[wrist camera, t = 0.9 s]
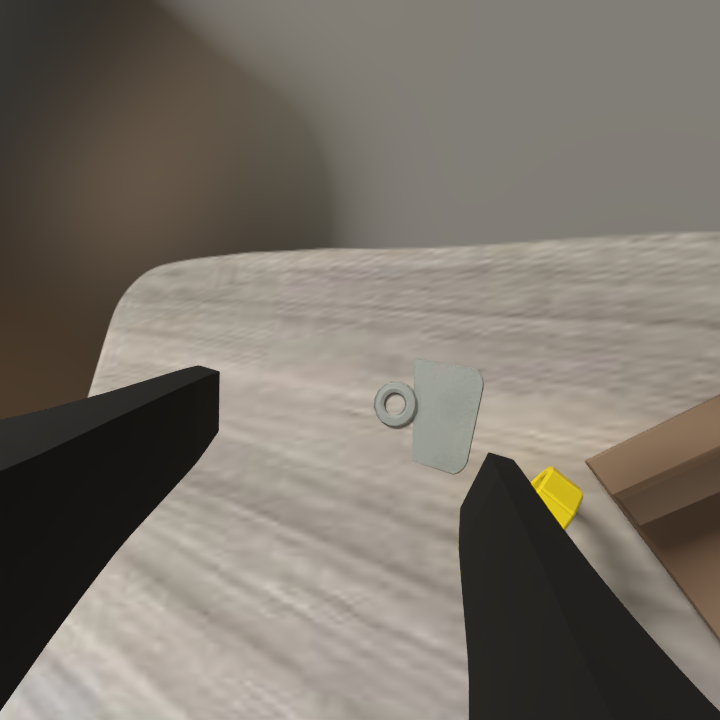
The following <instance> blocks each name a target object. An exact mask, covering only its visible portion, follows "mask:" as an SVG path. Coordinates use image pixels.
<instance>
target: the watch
mask: <svg viewBox="0 0 720 720" xmlns="http://www.w3.org/2000/svg"><path fill="white" fill-rule="evenodd" d="M531 484H532V486H533V487H534V489H535V490H536V491H537V493H538V494H539V496H540V497H541V498H542V500H543V501H544V503H545V504H546V505H547V507H548V508H549V510H550V511H551V512H552V514H553V515H554V517H555V518H556V519H557V521H558V522H559V523H560V525H561V526H562V528H563V529H564V530H566V529H567V527H568V526H569V524H570V523H571V522H572V520H573V517H574V516H575V515H576V513H577V511H578V508H579V506H580V504H581V502H582V500H583V493H582V491H581V489H580V487H578V486H577V485H576V484H574V483H573V482H572V481H571V480H569V479H568V478H567V477H566V476H564V475H563V474H562V473H560V472H559V471H558V470H557V469H555V468H554V467H548V468H547V469H546V470H544V471H543V472H541V473H540V474H539V475H538V476H537V477H536V478H535V479H534V480H533V481H532V482H531ZM460 574H461V571H460Z"/></svg>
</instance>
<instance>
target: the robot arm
mask: <svg viewBox="0 0 720 720" xmlns="http://www.w3.org/2000/svg"><path fill="white" fill-rule="evenodd" d="M219 375H220V372H219V371H216V370H212V369H209V368H206V367H202V366H199V365H198V366H194V367H189V368H186V369H182V370H179V371H175V372H172V373H169V374H165V375H162V376H159V377H156V378H152V379H149V380H146V381H143V382H140V383H136V384H133V385H130V386H127V387H123V388H120V389H117V390H114V391H110V392H107V393H103V394H100V395H96V396H93V397H89V398H85V399H82V400H78V401H75V402H71V403H67V404H64V405H60V406H57V407H53V408H49V409H45V410H41V411H37V412H33V413H29V414H25V415H20V416H16V417H12V418H6V419H2V420H0V711H1V709H2V708H3V707H4V705H5V704H6V702H7V701H8V699H9V698H10V696H11V695H12V694H13V692H14V691H15V689H16V688H17V686H18V685H19V684H20V682H21V681H22V679H23V678H24V676H25V675H26V674H27V672H28V671H29V669H30V668H31V666H32V665H33V663H34V662H35V661H36V659H37V658H38V656H39V655H40V653H41V652H42V651H43V649H44V648H45V646H46V645H47V643H48V642H49V641H50V639H51V638H52V637H53V635H54V634H55V633H56V631H57V630H58V628H59V627H60V626H61V624H62V623H63V622H64V620H65V619H66V618H67V616H68V615H69V613H70V612H71V611H72V609H73V608H74V607H75V605H76V604H77V603H78V601H79V600H80V598H81V597H82V596H83V594H84V593H85V592H86V591H87V589H88V588H89V587H90V585H91V584H92V583H93V581H94V580H95V579H96V577H97V576H98V575H99V574H100V572H101V571H102V570H103V568H104V567H105V566H106V564H107V563H108V562H109V561H110V559H111V558H112V557H113V555H114V554H115V553H116V552H117V551H118V549H119V548H120V547H121V546H122V545H123V543H124V542H125V541H126V540H127V539H128V538H129V536H130V535H131V534H132V533H133V532H134V531H135V530H136V529H137V528H138V526H139V525H140V524H141V523H142V522H143V521H144V520H145V519H146V518H147V517H148V516H149V514H150V513H151V512H152V511H153V510H154V509H155V508H156V507H157V506H158V505H159V504H160V502H161V501H162V500H163V499H164V498H165V497H166V496H167V495H168V494H169V493H170V492H171V490H172V489H173V488H174V487H175V486H176V485H177V484H178V483H179V482H180V481H181V479H182V478H183V477H184V476H185V475H186V474H187V473H188V472H189V471H190V469H191V468H192V467H193V466H194V465H195V464H196V463H197V461H198V460H199V459H200V457H201V456H202V454H203V453H204V452H205V450H206V449H207V448H208V446H209V445H210V443H211V442H212V440H213V439H214V437H215V436H216V434H217V433H218V431H219ZM459 558H460V571H461V583H462V595H463V607H464V618H465V630H466V642H467V653H468V672H469V720H720V711H719V710H718V709H717V708H716V707H715V706H714V705H713V704H712V703H711V702H710V701H709V700H708V699H707V698H706V697H705V696H704V695H703V694H702V693H701V692H700V691H699V689H698V688H697V687H696V686H695V685H694V684H693V683H692V682H691V681H690V680H689V679H688V678H687V677H686V676H685V674H684V673H683V672H682V671H681V670H680V669H679V668H678V667H677V666H676V665H675V664H674V662H673V661H672V660H671V659H670V658H669V657H668V656H667V655H666V653H665V652H664V651H663V650H662V649H661V648H660V647H659V646H658V644H657V643H656V642H655V641H654V640H653V639H652V638H651V637H650V635H649V634H648V633H647V632H646V631H645V630H644V629H643V628H642V626H641V625H640V624H639V623H638V622H637V621H636V620H635V618H634V617H633V616H632V615H631V614H630V612H629V611H628V610H627V609H626V608H625V607H624V605H623V604H622V603H621V602H620V601H619V599H618V598H617V597H616V596H615V594H614V593H613V592H612V591H611V589H610V588H609V587H608V586H607V585H606V583H605V582H604V581H603V580H602V578H601V577H600V576H599V575H598V573H597V572H596V571H595V570H594V568H593V567H592V566H591V565H590V563H589V562H588V561H587V559H586V558H585V557H584V555H583V554H582V553H581V552H580V550H579V549H578V548H577V546H576V545H575V544H574V542H573V541H572V540H571V538H570V537H569V536H568V534H567V533H566V532H565V530H564V529H563V528H562V526H561V525H560V523H559V522H558V521H557V519H556V518H555V517H554V515H553V514H552V512H551V511H550V510H549V508H548V507H547V505H546V504H545V503H544V501H543V500H542V498H541V497H540V496H539V494H538V493H537V491H536V490H535V489H534V487H533V486H532V484H531V483H530V481H529V480H528V479H527V477H526V476H525V475H524V473H523V472H522V470H521V469H520V468H519V466H518V465H517V464H516V462H515V461H514V460H513V459H509V458H506V457H503V456H499V455H496V454H493V453H489V452H488V454H487V456H486V458H485V460H484V462H483V464H482V466H481V468H480V470H479V472H478V474H477V476H476V478H475V480H474V482H473V484H472V486H471V488H470V490H469V492H468V494H467V496H466V498H465V500H464V502H463V504H462V506H461V508H460V526H459Z"/></svg>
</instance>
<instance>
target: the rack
mask: <svg viewBox="0 0 720 720" xmlns="http://www.w3.org/2000/svg"><path fill="white" fill-rule="evenodd" d="M585 462H586V463H587V465H588V466H589V467H590V469H591V470H592V472H593V473H594V474H595V476H596V477H597V478H598V480H599V481H600V482H601V484H602V485H603V486H604V488H605V489H606V490H607V492H608V493H609V494H610V496H611V497H612V498H613V500H614V501H615V502H616V504H617V505H618V506H619V508H620V509H621V510H622V512H623V513H624V514H625V516H626V517H627V518H628V520H629V521H630V522H631V524H632V525H633V526H634V528H635V529H636V530H637V532H638V533H639V534H640V536H641V537H642V538H643V540H644V541H645V542H646V544H647V545H648V546H649V548H650V549H651V550H652V552H653V553H654V554H655V556H656V557H657V558H658V560H659V561H660V563H661V564H662V565H663V567H664V568H665V569H666V571H667V572H668V573H669V575H670V576H671V577H672V579H673V580H674V581H675V583H676V584H677V585H678V587H679V588H680V589H681V591H682V592H683V593H684V595H685V596H686V597H687V599H688V600H689V601H690V603H691V604H692V605H693V607H694V608H695V609H696V611H697V612H698V613H699V615H700V616H701V617H702V619H703V620H704V621H705V623H706V624H707V625H708V627H709V628H710V629H711V631H712V632H713V633H714V635H715V636H716V637H717V639H718V640H719V641H720V395H718V396H716V397H714V398H712V399H710V400H708V401H706V402H703V403H701V404H699V405H697V406H695V407H693V408H691V409H689V410H687V411H685V412H683V413H681V414H679V415H677V416H675V417H673V418H671V419H669V420H667V421H665V422H663V423H661V424H659V425H657V426H655V427H653V428H651V429H649V430H647V431H645V432H643V433H641V434H639V435H637V436H635V437H633V438H631V439H628V440H626V441H624V442H622V443H620V444H618V445H616V446H614V447H612V448H610V449H608V450H606V451H604V452H602V453H600V454H598V455H596V456H594V457H592V458H590V459H588V460H586V461H585Z"/></svg>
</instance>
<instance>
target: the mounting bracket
mask: <svg viewBox="0 0 720 720" xmlns="http://www.w3.org/2000/svg"><path fill="white" fill-rule="evenodd" d="M482 388H483V380H482V376H481V374H480V373H479V372H478V371H477V370H476V369H474V368H468V367H463V366H457V365H451V364H445V363H440V362H434V361H428V360H422V359H417V358H414V391H413V390H412V388H411V387H410V386H409V385H407V384H405V383H402V382H390V383H388V384H386V385H384V386H383V387H382V388H381V389H380V390H379V391H378V393H377V395H376V397H375V402H374V408H375V411H376V414H377V416H378V418H379V419H380V420H381V421H382V422H383V423H384V424H386V425H388V426H391V427H400V426H403V425H406V424H407V423H408V422H409V421H411V420H412V419H413V461H415V462H418V463H421V464H424V465H427V466H430V467H433V468H436V469H439V470H442V471H445V472H449V473H452V474H455V473H457V472H459V471H461V470H462V469H463V467H464V466H465V465H466V462H467V459H468V455H469V450H470V445H471V440H472V436H473V431H474V426H475V421H476V417H477V412H478V407H479V402H480V398H481V393H482ZM394 392H396V393H399V394H401V395H402V396H403V397H404V400H405V407H404V410H403V411H402V412H401V413H400V414H398V415H391V414H389V413H388V412H387V411H386V409H385V400H386V397H387V396H388V395H389V394H391V393H394Z"/></svg>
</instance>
